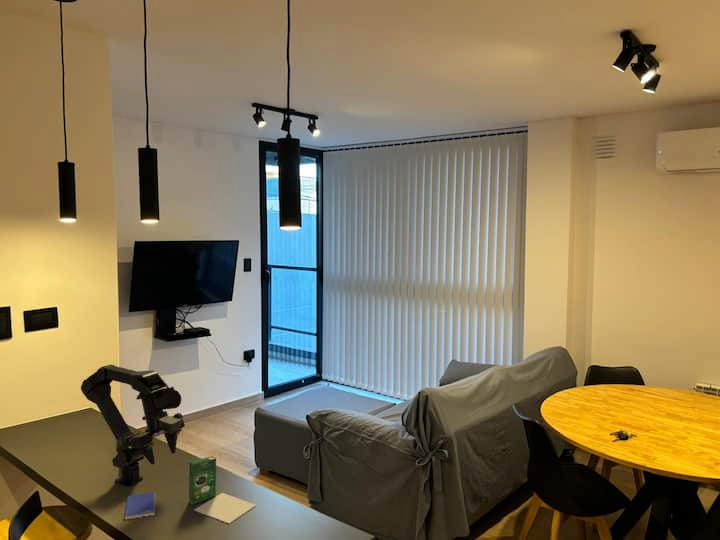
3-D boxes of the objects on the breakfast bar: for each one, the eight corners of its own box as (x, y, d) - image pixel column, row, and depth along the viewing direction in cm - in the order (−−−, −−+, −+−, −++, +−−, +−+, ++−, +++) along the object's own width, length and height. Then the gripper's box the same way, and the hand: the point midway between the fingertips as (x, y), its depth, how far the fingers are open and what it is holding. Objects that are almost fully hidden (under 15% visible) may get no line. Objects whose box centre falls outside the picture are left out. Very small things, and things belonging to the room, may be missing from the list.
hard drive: (154, 511, 164) (155, 492, 176) (124, 515, 162) (127, 495, 173) (154, 516, 164) (155, 496, 176) (124, 521, 162) (127, 500, 173)
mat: (194, 510, 167) (194, 509, 167) (222, 493, 178) (222, 492, 178) (229, 524, 160) (229, 523, 160) (256, 505, 171) (256, 504, 171)
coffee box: (212, 493, 178) (212, 454, 176) (216, 497, 175) (216, 457, 174) (188, 501, 172) (188, 461, 171) (192, 505, 170) (192, 464, 169)
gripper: (150, 417, 166) (161, 468, 165) (192, 399, 183) (202, 446, 182) (123, 421, 170) (134, 470, 170) (167, 403, 187) (176, 448, 187)
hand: (163, 458), depth 177 cm, fingers open, 9 cm apart
